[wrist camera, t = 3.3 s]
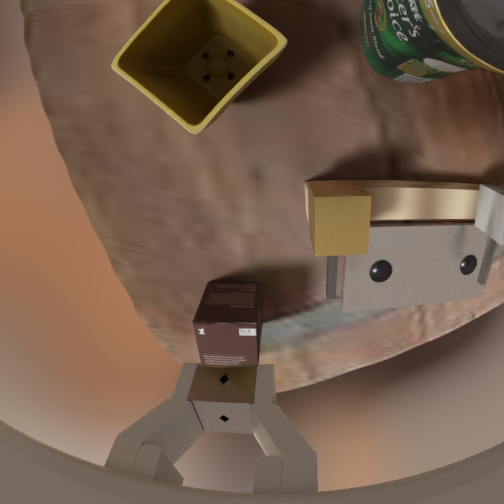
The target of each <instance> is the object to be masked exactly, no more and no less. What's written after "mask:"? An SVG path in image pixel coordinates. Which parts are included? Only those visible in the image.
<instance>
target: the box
mask: <svg viewBox="0 0 504 504" xmlns="http://www.w3.org/2000/svg"><path fill="white" fill-rule="evenodd" d="M192 324H193V328H194V333H195V337H196V342H197V347H198V351H199V356H200V360H201V364H217V365H258V363H259V352H260V341H261V331H262V311H261V291H260V283H209V282H208V283H207V285H206V288H205V290H204V293H203V296H202V299H201V301H200V304H199V307H198V309H197V311H196V313H195V316H194V320H193V322H192Z"/></svg>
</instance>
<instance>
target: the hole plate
mask: <svg viewBox="0 0 504 504" xmlns="http://www.w3.org/2000/svg"><path fill="white" fill-rule="evenodd" d="M487 237H488V235H487V234H486V233H484V232H483V231H482V230H480V229H479V228H478V227H476V226H475V222H426V223H380V224H370V232H369V245H368V254H357V255H344V267H343V282H342V295H341V306H340V307H341V311H342V312H348V311H362V310H374V309H385V308H396V307H406V306H415V305H424V304H432V303H440V302H448V301H455V300H463V299H469V298H476V297H481V295H482V292H483V289H484V286H485V284H483V285H480V284H479V283H478V282H477V279H478V275H479V272H480V268H481V264H482V260H483V256H484V251H485V247H486V242H487Z"/></svg>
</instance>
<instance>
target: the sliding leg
mask: <svg viewBox="0 0 504 504" xmlns="http://www.w3.org/2000/svg"><path fill="white" fill-rule="evenodd" d="M308 212H309V233H310V237H311V242H312V246H313V250H314V254H315V256H327V283H326V296H327V299H335V297H336V282H337V264H338V255H357V254H368V245H369V232H370V215H371V195H370V194H369V193H367V192H366V191H365V190H364V189H363V188H362V187H361V186H360V185H359V184H358V183H356V182H355V181H354V180H350V181H308Z"/></svg>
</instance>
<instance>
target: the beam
mask: <svg viewBox="0 0 504 504" xmlns="http://www.w3.org/2000/svg"><path fill="white" fill-rule="evenodd" d="M333 181H350V180H333ZM354 181H355V182H356V183H358V184H359V185H360V186H361V187H362V188H363V189H364V190H365V191H366V192H367V193H369V194H370V195H371V215H370V220H395V219H475V226H476V227H478V228H479V229H480V230H482V231H483V232H484V233H486V234H487V235H488V237H487V242H486V247H485V251H484V256H483V260H482V264H481V268H480V272H479V275H478V279H477V282H478V283H479V284H480V285H483V284H485V283H486V279H487V276H488V272H489V269H490V265H491V261H492V257H493V253H494V249H495V244H496V242H497V243H499V244H500V245H504V186H499V185H488V184H470V183H454V182H434V181H403V180H354ZM304 182H305V210H306V215H307V219H308V222H309V212H308V181H304Z"/></svg>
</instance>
